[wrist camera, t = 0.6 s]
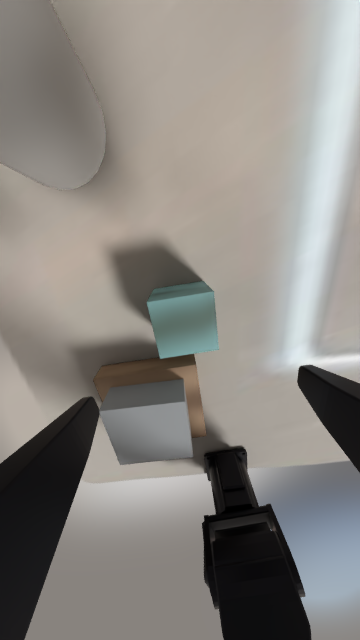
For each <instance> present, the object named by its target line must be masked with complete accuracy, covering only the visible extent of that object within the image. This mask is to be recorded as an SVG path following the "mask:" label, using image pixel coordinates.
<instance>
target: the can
mask: <svg viewBox="0 0 360 640" xmlns="http://www.w3.org/2000/svg"><path fill="white" fill-rule="evenodd" d="M105 144H106V129H105V123H104V117H103V111H102V109H101V106H100V104H99V101H98V99H97V96H96V94H95V91H94V89H93V87H92V85H91V83H90V81H89V79H88V77H87V74H86V72H85V70H84V68H83V66H82V64H81V62H80V60H79V58H78V56H77V54H76V52H75V50H74V48H73V46H72V44H71V42H70V40H69V38H68V36H67V34H66V32H65V30H64V28H63V26H62V24H61V22H60V20H59V18H58V16H57V14H56V12H55V10H54V8H53V6H52V4H51V2H50V0H0V163H1V164H3V165H5V166H7V167H9V168H11V169H13V170H15V171H17V172H19V173H20V174H22V175H24V176H26V177H28V178H30V179H32V180H34V181H36V182H38V183H40V184H42V185H44V186H47V187H51V188H54V189H57V190H72V189H76V188H78V187H80V186H82V185H85V184H87V183H88V182H89V181H90V180H91V179H92V178H93V176H94V175H95V174H96V173H97V172H98V170H99V168H100V165H101V162H102V160H103V157H104V155H105Z"/></svg>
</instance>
